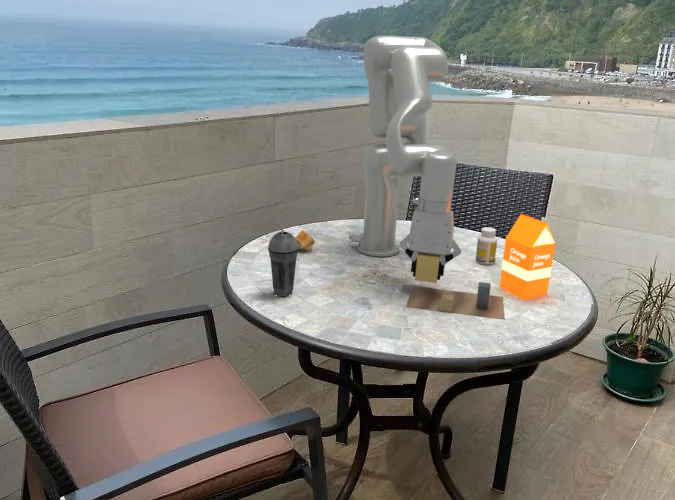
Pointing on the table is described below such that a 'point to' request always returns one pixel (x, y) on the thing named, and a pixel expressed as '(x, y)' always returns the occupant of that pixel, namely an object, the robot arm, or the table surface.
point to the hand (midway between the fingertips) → (426, 275)
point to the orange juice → (527, 258)
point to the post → (483, 295)
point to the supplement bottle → (486, 246)
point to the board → (455, 302)
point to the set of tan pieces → (374, 274)
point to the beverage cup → (283, 261)
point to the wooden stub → (446, 303)
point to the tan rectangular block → (427, 267)
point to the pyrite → (304, 240)
